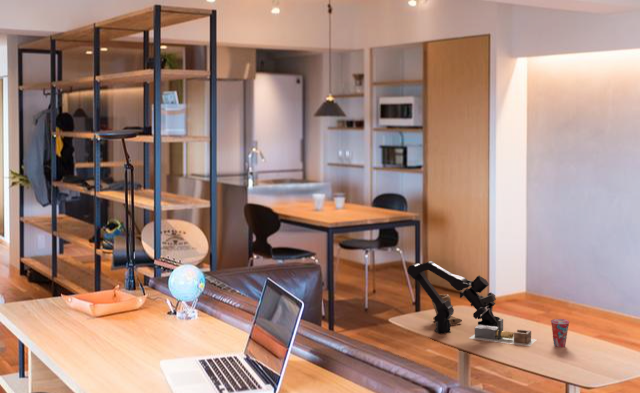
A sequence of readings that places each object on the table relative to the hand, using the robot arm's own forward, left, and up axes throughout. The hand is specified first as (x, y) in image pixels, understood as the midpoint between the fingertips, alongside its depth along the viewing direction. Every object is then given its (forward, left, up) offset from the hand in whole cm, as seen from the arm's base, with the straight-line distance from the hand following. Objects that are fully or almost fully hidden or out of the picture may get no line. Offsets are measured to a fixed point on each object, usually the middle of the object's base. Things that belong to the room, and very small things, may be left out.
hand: (496, 322), depth 392 cm
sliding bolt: (0, 0, -7) cm, 7 cm away
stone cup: (-11, +37, -8) cm, 39 cm away
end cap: (+6, +20, -8) cm, 22 cm away
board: (+2, -2, -8) cm, 9 cm away
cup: (+22, -20, -8) cm, 31 cm away
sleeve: (-3, +3, -8) cm, 9 cm away
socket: (+9, -9, -8) cm, 15 cm away
